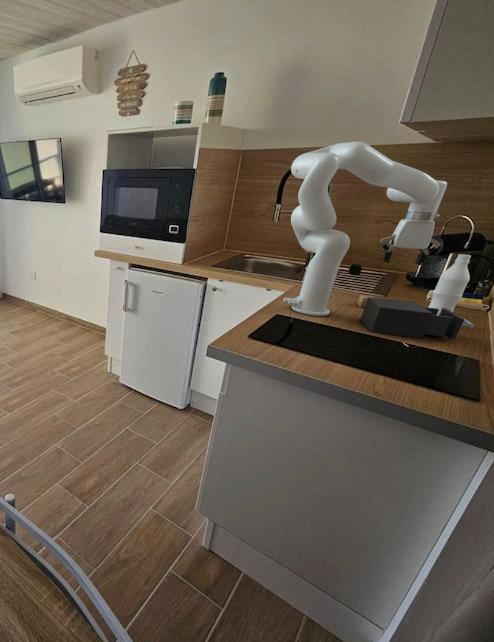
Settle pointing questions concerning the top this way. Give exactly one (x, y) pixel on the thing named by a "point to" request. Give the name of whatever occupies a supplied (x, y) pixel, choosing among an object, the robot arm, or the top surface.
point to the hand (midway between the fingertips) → (401, 263)
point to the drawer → (445, 323)
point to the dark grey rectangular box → (395, 317)
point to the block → (363, 300)
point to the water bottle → (451, 285)
